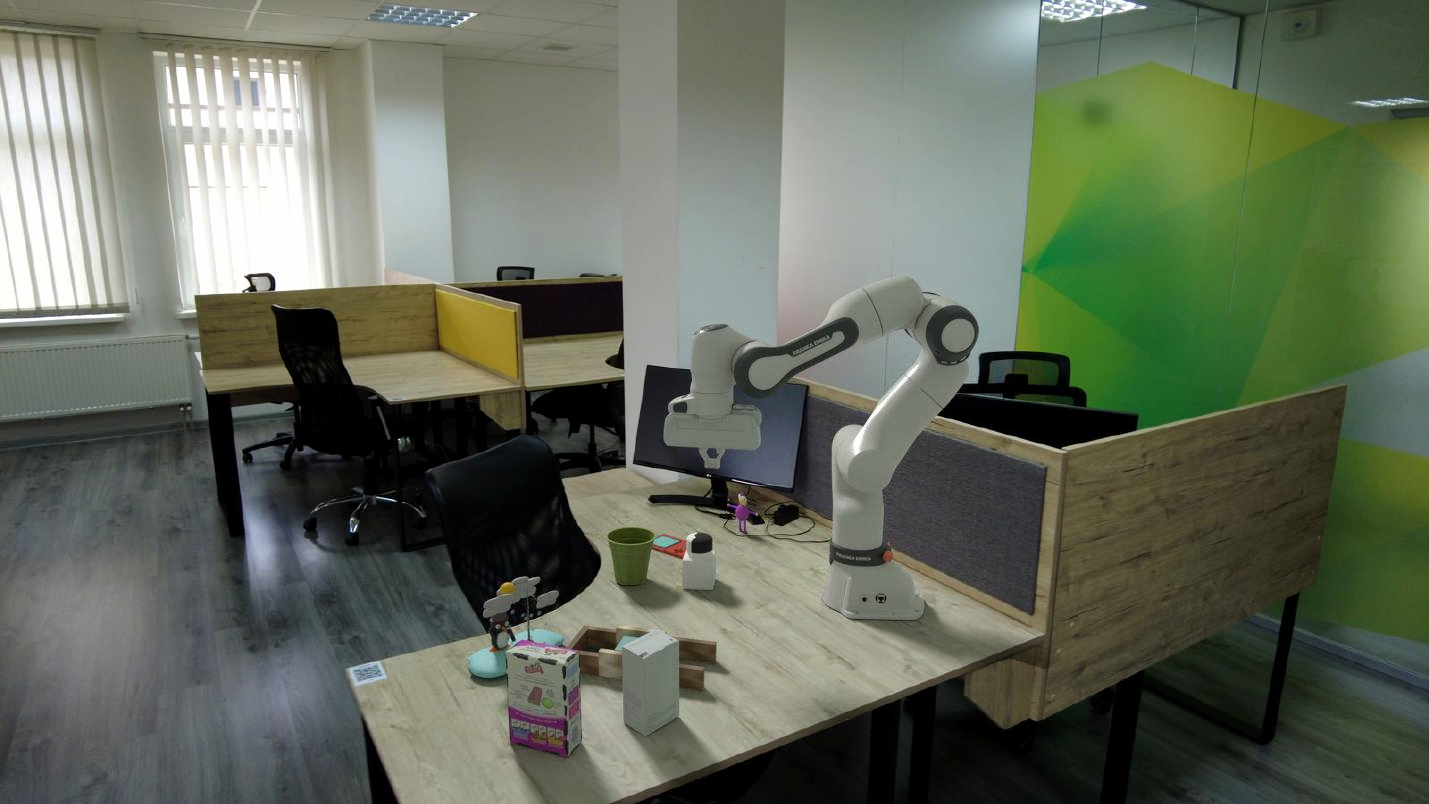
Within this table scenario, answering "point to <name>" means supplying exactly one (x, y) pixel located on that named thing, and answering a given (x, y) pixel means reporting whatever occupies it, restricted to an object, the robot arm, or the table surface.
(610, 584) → the table surface
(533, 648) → the candy bar box
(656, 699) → the skincare box
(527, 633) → the penguin figurine
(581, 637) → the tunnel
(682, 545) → the handheld gaming console
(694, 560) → the medicine bottle
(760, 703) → the table surface
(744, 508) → the wizard figurine
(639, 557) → the plant pot
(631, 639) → the teal block
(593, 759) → the table surface
